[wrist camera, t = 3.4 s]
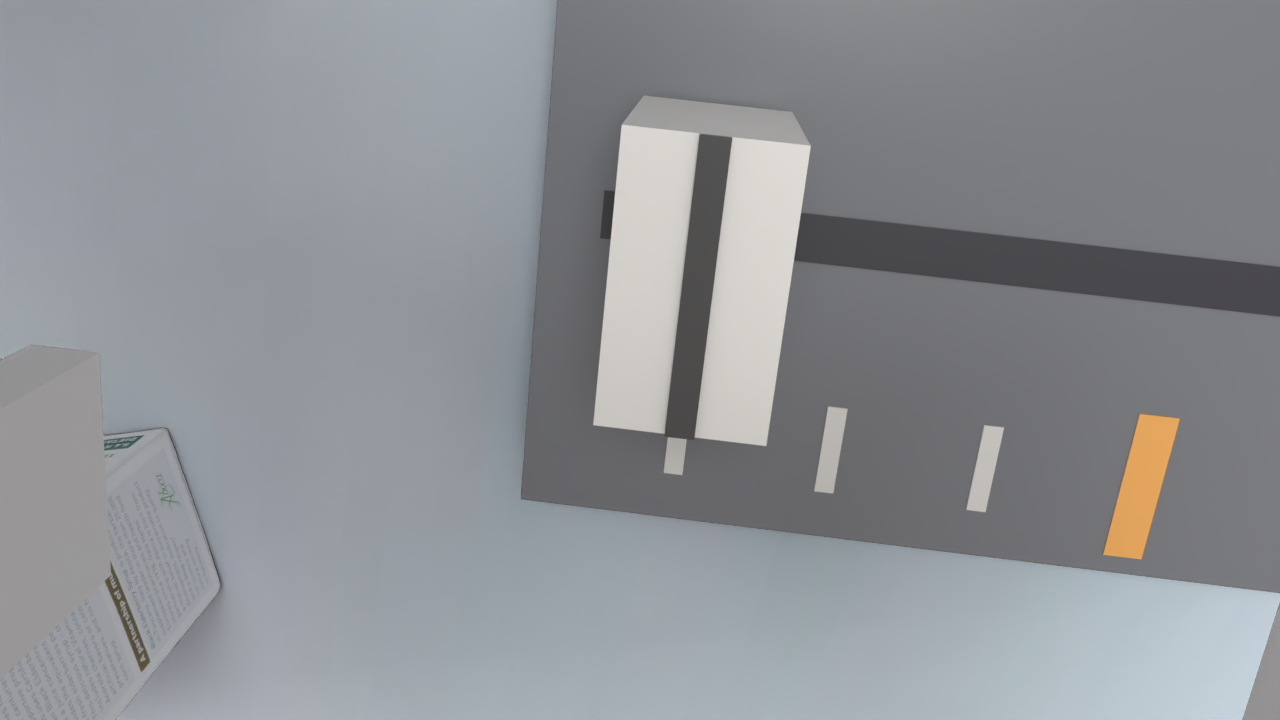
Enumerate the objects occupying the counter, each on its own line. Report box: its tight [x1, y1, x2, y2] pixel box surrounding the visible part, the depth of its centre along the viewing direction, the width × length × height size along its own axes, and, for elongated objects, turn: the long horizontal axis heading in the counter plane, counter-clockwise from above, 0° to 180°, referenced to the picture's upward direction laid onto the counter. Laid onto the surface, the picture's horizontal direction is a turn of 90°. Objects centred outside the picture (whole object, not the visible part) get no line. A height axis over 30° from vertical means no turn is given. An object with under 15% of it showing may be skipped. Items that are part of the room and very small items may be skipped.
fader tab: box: [593, 96, 811, 446], centre depth 24 cm, size 4×6×6 cm, turn 174°
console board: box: [521, 0, 1280, 593], centre depth 29 cm, size 22×16×3 cm
